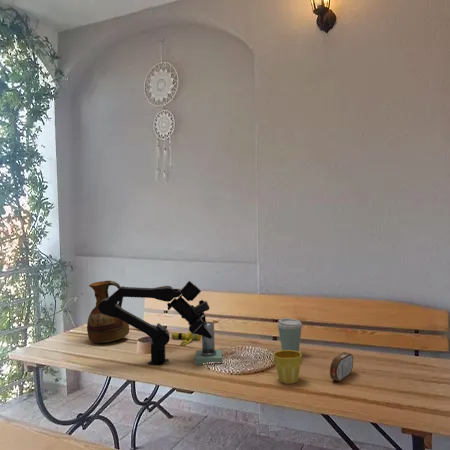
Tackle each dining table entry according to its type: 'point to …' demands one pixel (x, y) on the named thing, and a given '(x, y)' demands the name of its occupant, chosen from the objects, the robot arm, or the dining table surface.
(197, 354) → the green square slab
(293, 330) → the disposable coffee cup
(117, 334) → the ceramic pitcher
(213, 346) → the cylinder
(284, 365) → the plant pot
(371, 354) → the dining table surface
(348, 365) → the tin
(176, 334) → the sprinkler
